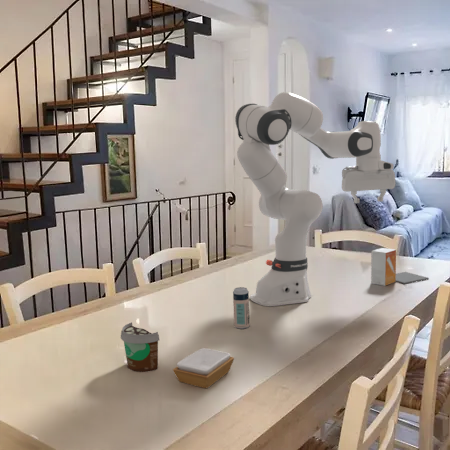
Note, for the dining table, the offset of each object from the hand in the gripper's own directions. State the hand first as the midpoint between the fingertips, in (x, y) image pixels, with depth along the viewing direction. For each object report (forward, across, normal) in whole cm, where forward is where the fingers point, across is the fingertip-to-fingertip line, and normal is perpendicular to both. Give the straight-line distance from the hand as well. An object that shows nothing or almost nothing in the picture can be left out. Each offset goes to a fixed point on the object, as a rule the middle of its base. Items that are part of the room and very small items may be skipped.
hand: (368, 202), depth 194 cm
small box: (+32, +7, +2) cm, 33 cm away
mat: (+32, +18, +5) cm, 37 cm away
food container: (+32, -89, -54) cm, 109 cm away
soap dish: (+32, -73, -64) cm, 102 cm away
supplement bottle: (+32, -57, -32) cm, 73 cm away
